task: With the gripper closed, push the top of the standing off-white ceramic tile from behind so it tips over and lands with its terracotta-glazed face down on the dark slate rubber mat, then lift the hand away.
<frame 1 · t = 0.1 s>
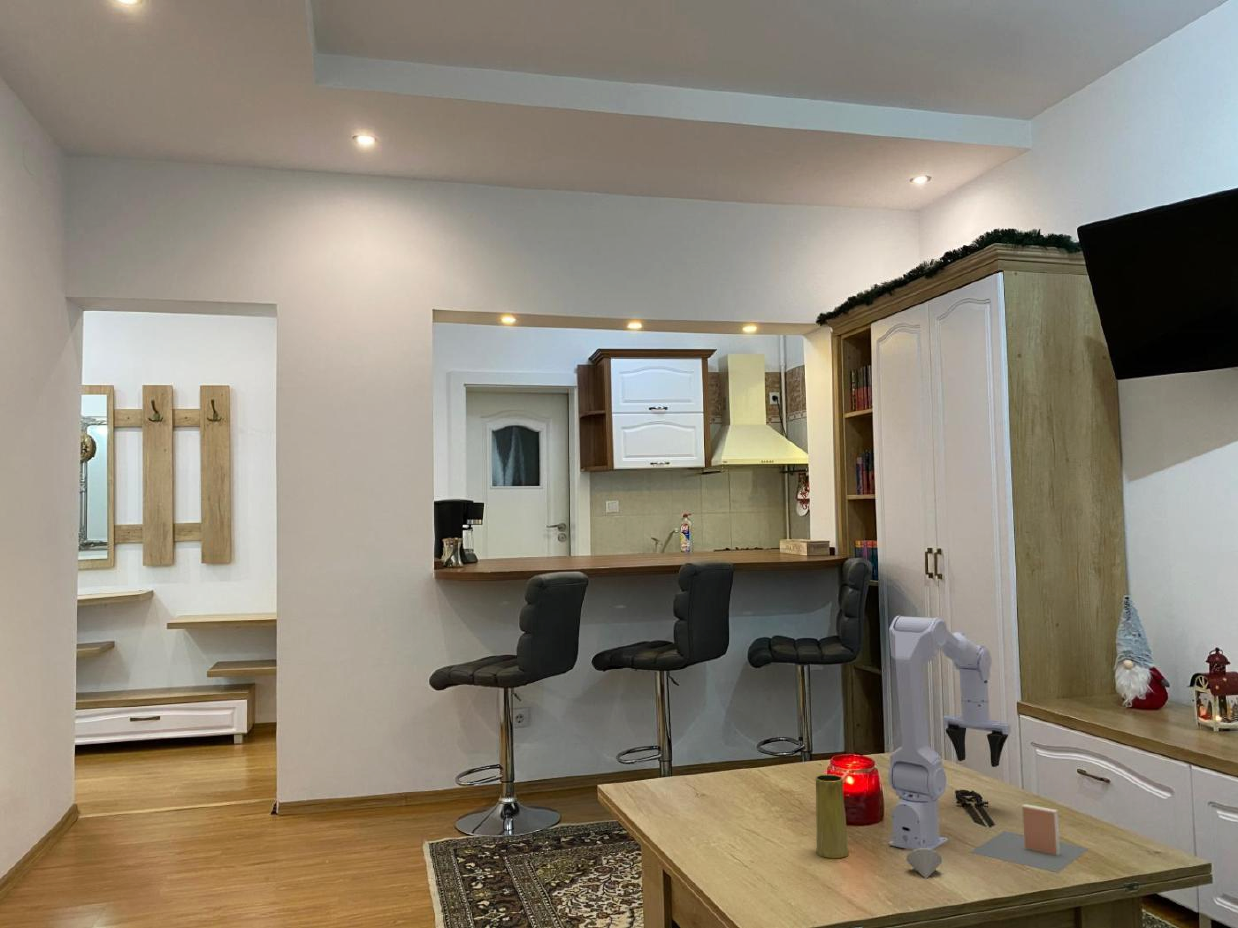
hand: (978, 762, 200), 10 cm above the table, fingers open, 7 cm apart
dark ornate flat tool: (977, 813, 199), on the table
tile: (1042, 851, 173), resting on mat
vase: (832, 854, 176), on the table
mat: (1029, 852, 173), on the table
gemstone: (925, 874, 165), on the table
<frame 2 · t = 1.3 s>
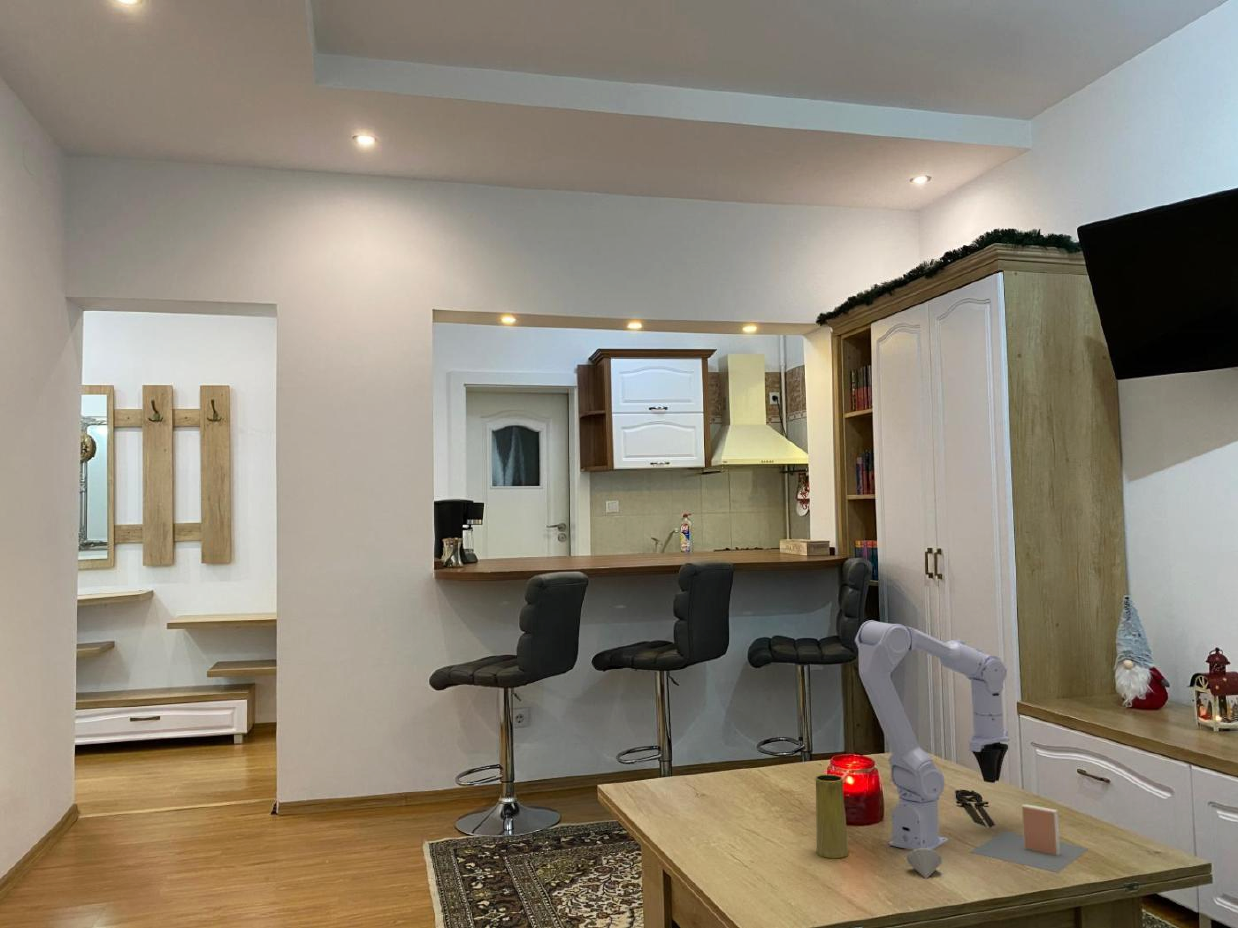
hand: (991, 780, 187), 10 cm above the table, fingers closed
nothing on the table moved.
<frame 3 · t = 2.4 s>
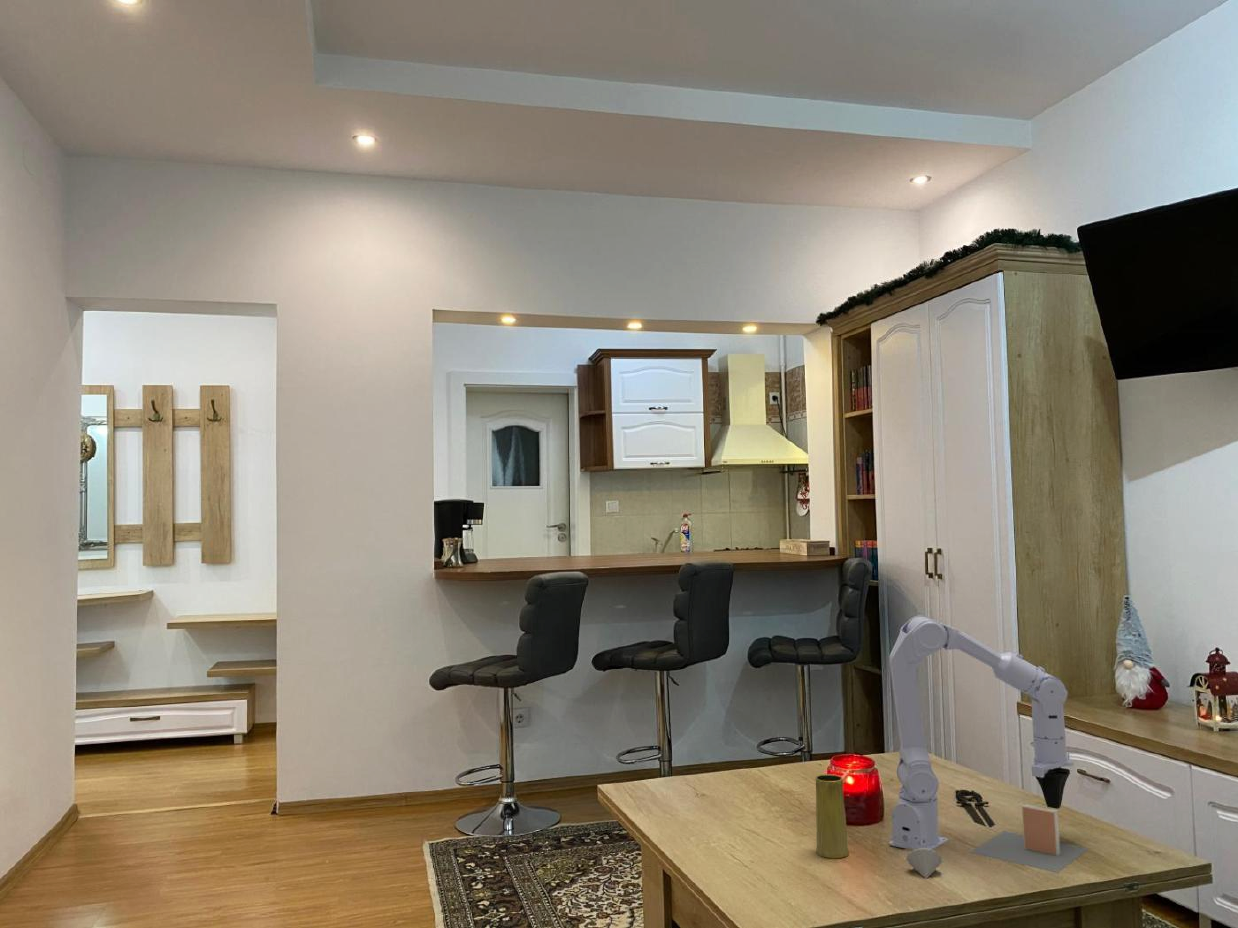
hand: (1053, 807, 178), 7 cm above the table, fingers closed
nothing on the table moved.
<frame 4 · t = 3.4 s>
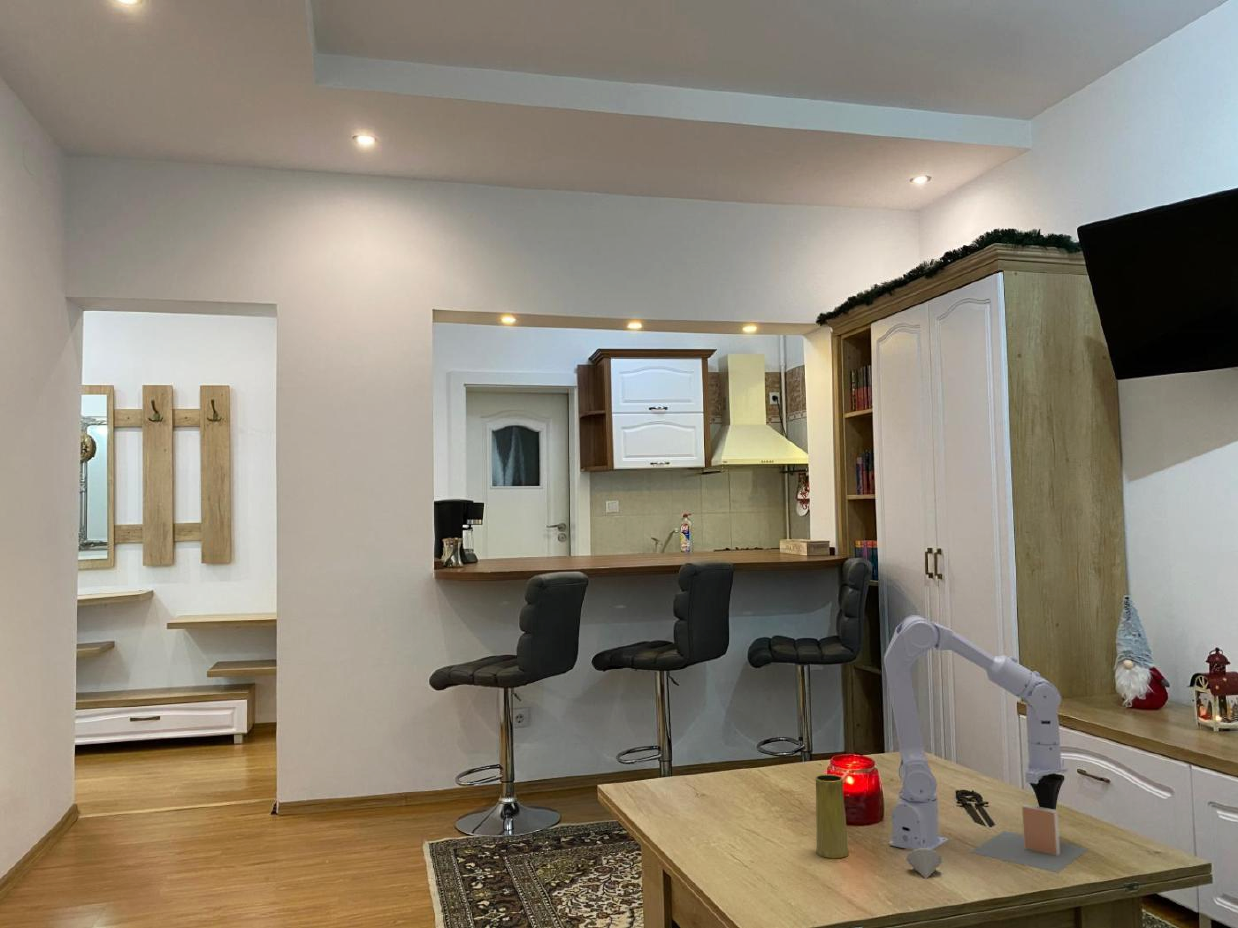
hand: (1047, 813, 176), 6 cm above the table, fingers closed
nothing on the table moved.
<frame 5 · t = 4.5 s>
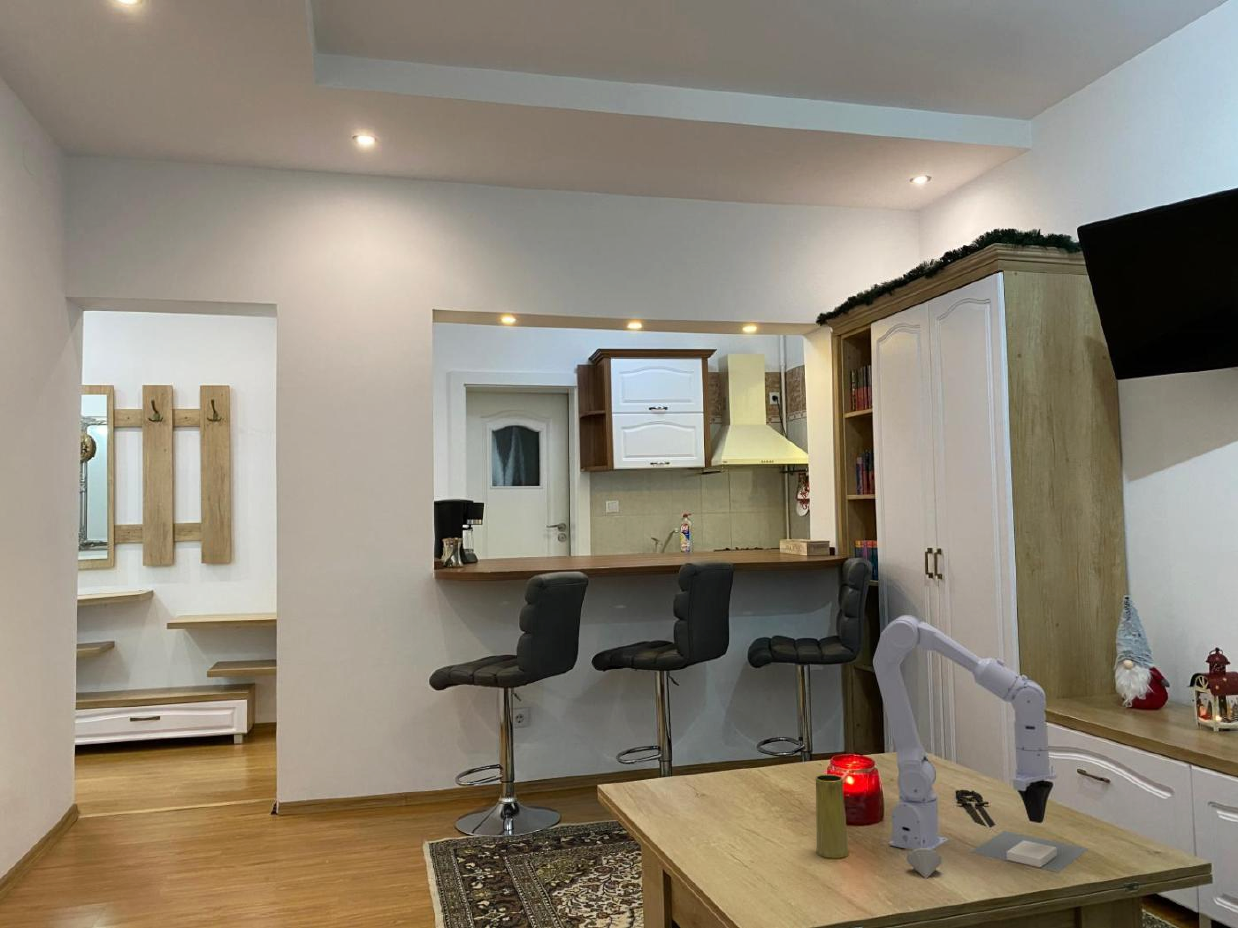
hand: (1036, 821, 172), 6 cm above the table, fingers closed
tile: (1040, 847, 172), point 1 cm above the table, tilted 90°, touching mat
everything else where it was.
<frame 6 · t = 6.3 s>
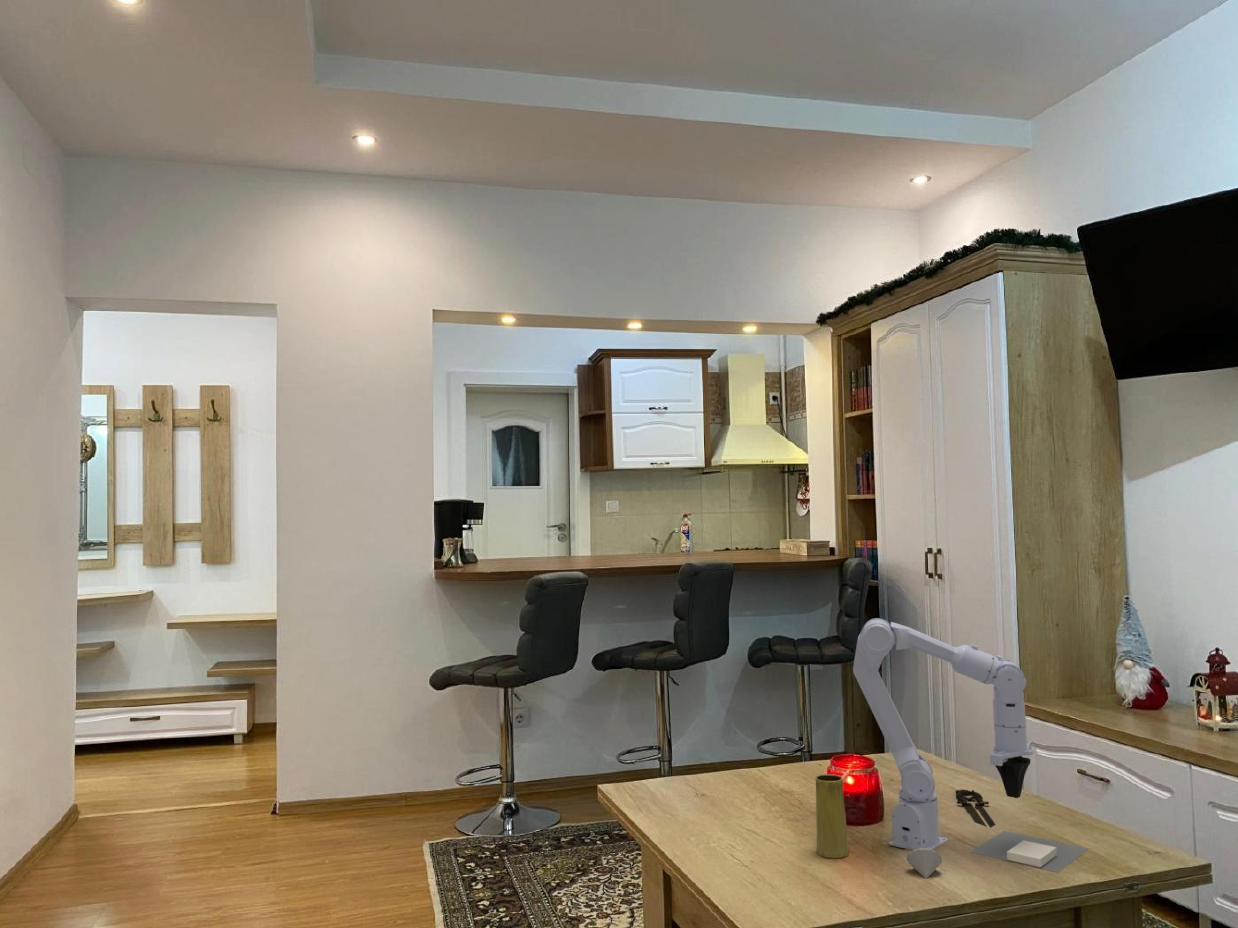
hand: (1013, 796, 176), 10 cm above the table, fingers closed
nothing on the table moved.
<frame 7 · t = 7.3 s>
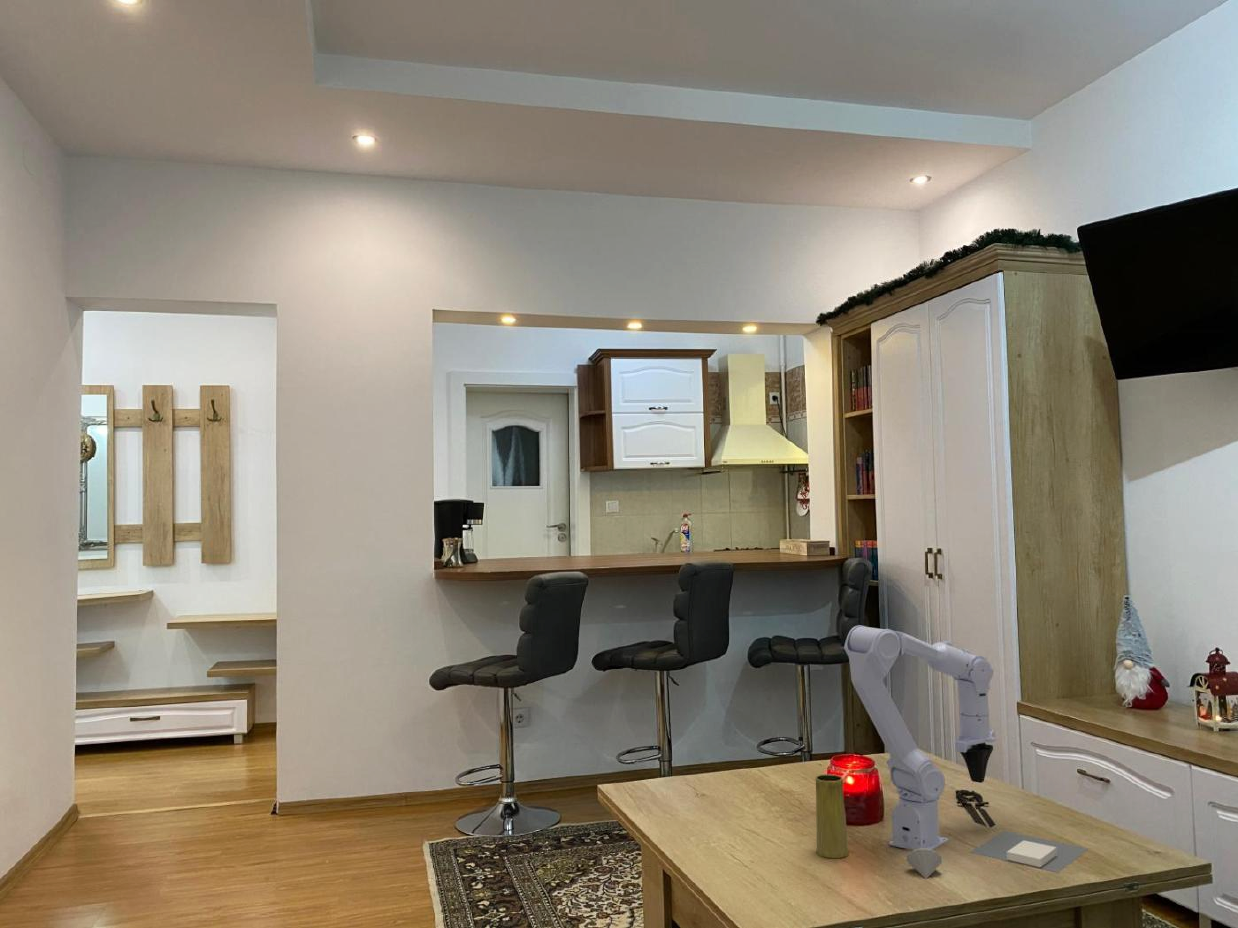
hand: (977, 781, 187), 10 cm above the table, fingers closed
nothing on the table moved.
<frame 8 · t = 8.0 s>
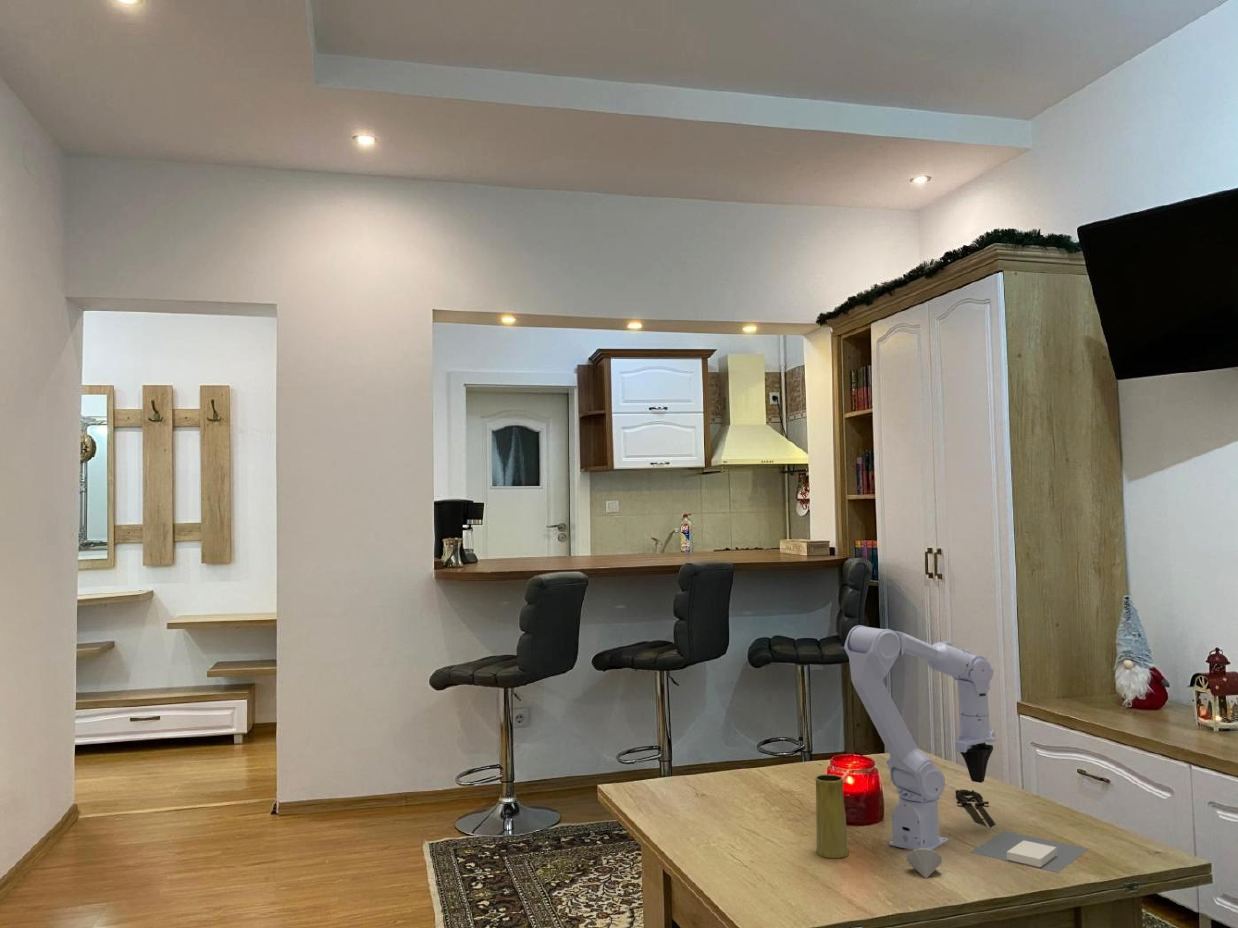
hand: (977, 781, 187), 10 cm above the table, fingers closed
nothing on the table moved.
at the end: tile tilted 90°; tile inside the target area (0.9 cm from its centre), point 1.3 cm above the table; tile touching mat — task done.
